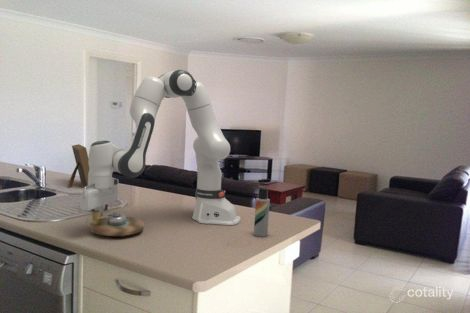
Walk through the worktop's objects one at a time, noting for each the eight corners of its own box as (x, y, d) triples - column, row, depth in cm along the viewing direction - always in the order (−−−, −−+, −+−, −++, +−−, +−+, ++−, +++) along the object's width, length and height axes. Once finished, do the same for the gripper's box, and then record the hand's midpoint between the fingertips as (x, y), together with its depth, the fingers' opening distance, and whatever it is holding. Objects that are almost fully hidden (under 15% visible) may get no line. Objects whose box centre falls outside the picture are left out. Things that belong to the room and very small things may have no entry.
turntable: (137, 219, 168) (138, 203, 167) (148, 233, 150) (149, 215, 149) (88, 223, 159) (88, 206, 158) (93, 237, 141) (94, 218, 141)
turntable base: (141, 229, 160) (142, 226, 160) (124, 239, 146) (124, 235, 146) (111, 225, 163) (111, 222, 163) (91, 234, 150) (91, 231, 150)
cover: (125, 220, 158) (125, 211, 158) (125, 225, 152) (126, 215, 151) (107, 221, 156) (107, 211, 156) (107, 226, 149) (107, 216, 149)
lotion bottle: (259, 232, 165) (262, 185, 163) (270, 235, 162) (273, 187, 160) (250, 234, 161) (253, 186, 159) (262, 238, 157) (265, 189, 155)
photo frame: (87, 182, 256) (88, 144, 254) (95, 188, 238) (95, 147, 235) (63, 183, 249) (63, 144, 246) (69, 189, 230) (69, 147, 228)
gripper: (91, 187, 142) (90, 224, 143) (121, 179, 161) (120, 212, 163) (76, 185, 143) (75, 222, 145) (107, 177, 163) (106, 210, 164)
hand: (99, 216), depth 154 cm, fingers closed
